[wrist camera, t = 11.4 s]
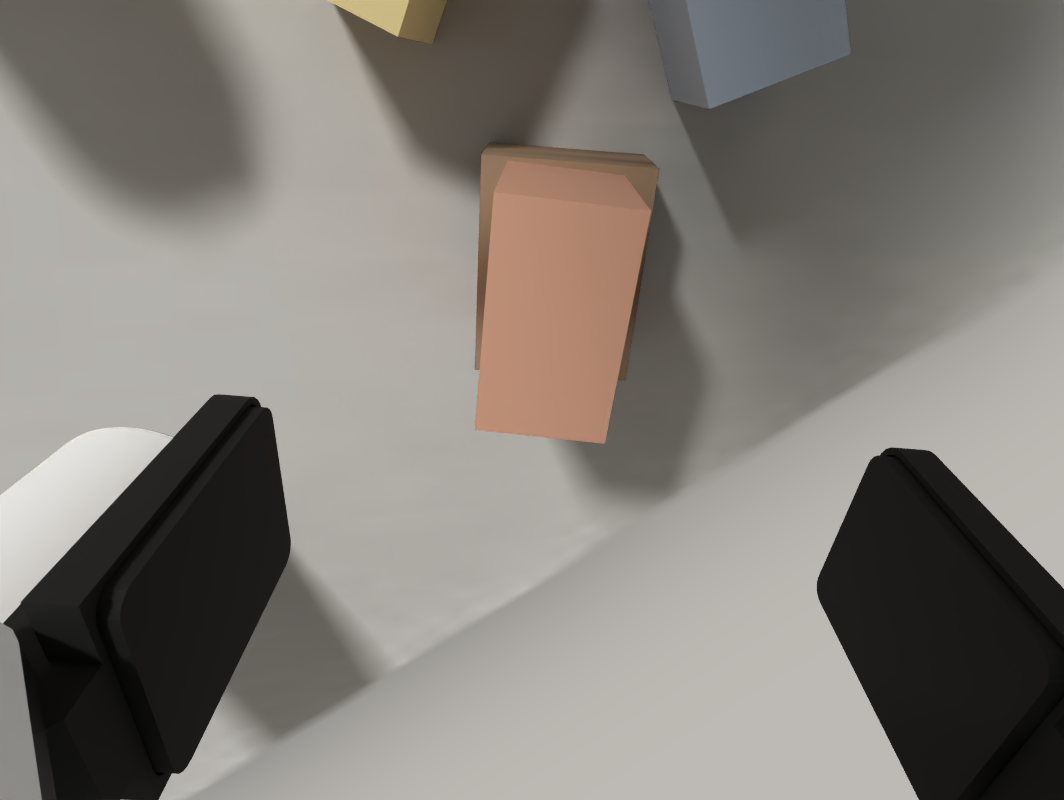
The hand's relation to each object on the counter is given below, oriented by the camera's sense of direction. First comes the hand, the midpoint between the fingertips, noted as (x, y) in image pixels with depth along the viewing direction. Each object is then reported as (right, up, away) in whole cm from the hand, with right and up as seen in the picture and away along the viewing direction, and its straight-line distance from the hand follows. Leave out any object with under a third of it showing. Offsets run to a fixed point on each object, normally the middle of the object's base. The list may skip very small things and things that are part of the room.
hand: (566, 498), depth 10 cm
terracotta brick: (0, +6, +13) cm, 14 cm away
